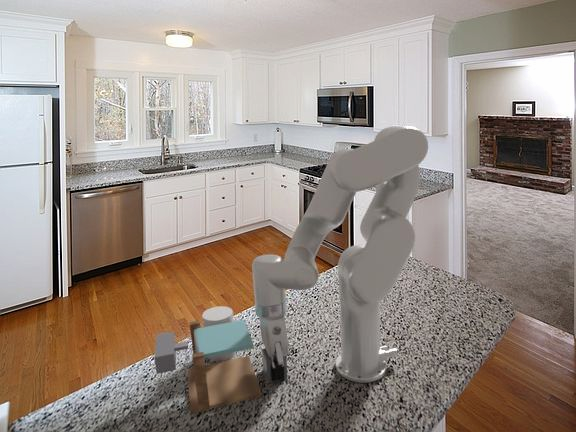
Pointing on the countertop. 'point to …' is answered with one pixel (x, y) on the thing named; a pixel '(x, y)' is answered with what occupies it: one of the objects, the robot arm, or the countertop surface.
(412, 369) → the countertop surface
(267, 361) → the grey block
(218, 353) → the trapdoor
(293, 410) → the countertop surface
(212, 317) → the cup
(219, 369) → the frame
